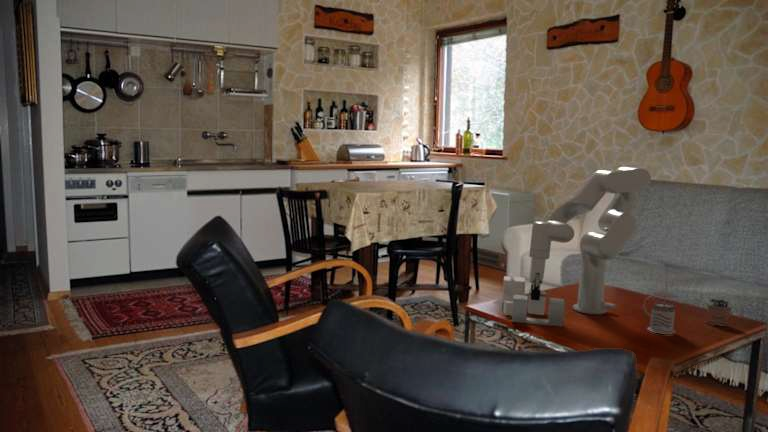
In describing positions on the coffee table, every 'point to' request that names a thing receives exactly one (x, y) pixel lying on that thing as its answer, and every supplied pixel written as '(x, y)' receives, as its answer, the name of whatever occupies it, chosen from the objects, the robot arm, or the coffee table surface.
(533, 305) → the module
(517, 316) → the grey u-shaped block
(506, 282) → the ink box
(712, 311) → the lighter
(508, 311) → the block
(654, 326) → the french press
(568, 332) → the coffee table surface
